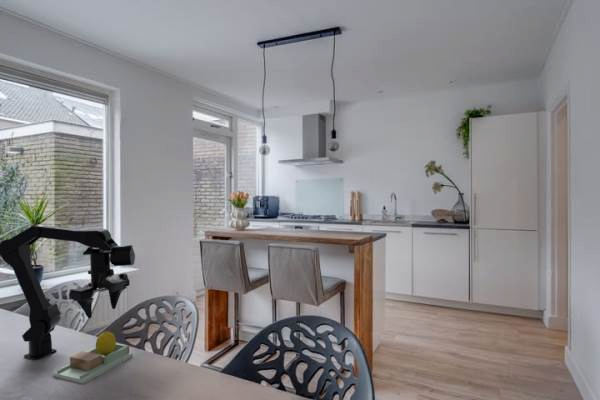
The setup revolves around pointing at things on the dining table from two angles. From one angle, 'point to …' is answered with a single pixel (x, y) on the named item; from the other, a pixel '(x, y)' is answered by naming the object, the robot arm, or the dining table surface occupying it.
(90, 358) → the tan rectangular block
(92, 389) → the dining table surface
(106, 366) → the tray
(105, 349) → the lemon
